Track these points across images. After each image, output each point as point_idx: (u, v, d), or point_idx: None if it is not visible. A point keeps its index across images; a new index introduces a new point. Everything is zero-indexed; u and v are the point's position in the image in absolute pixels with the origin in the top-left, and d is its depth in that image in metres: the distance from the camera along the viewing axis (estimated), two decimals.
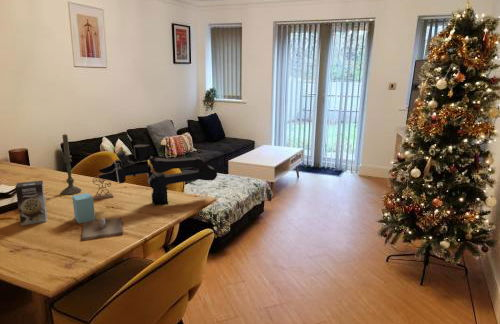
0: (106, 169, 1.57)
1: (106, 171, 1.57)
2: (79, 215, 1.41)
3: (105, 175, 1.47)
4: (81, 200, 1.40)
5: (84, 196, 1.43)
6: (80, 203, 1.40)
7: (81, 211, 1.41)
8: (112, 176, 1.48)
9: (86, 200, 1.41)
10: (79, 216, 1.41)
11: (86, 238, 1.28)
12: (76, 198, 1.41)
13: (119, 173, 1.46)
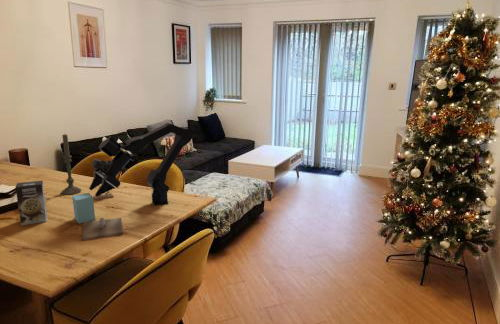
0: (94, 183, 1.50)
1: (96, 184, 1.50)
2: (79, 215, 1.41)
3: (100, 190, 1.41)
4: (81, 200, 1.40)
5: (84, 196, 1.43)
6: (80, 203, 1.40)
7: (81, 211, 1.41)
8: (106, 186, 1.42)
9: (86, 200, 1.41)
10: (79, 216, 1.41)
11: (86, 238, 1.28)
12: (76, 198, 1.41)
13: (110, 180, 1.39)
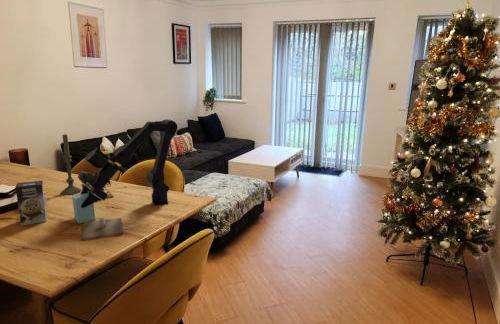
0: None
1: None
2: (79, 215, 1.41)
3: (85, 202, 1.40)
4: (81, 200, 1.40)
5: (84, 196, 1.43)
6: (80, 203, 1.40)
7: (81, 211, 1.41)
8: (92, 198, 1.41)
9: None
10: (79, 216, 1.41)
11: (86, 238, 1.28)
12: (76, 198, 1.41)
13: (96, 193, 1.37)
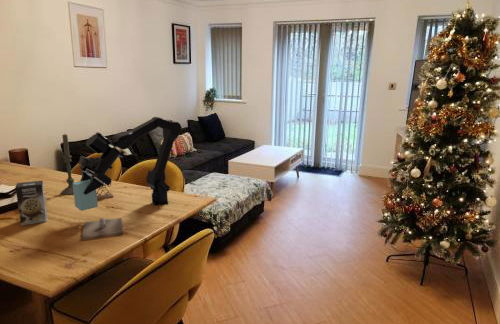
0: None
1: None
2: (82, 202, 1.36)
3: (89, 188, 1.36)
4: (83, 186, 1.35)
5: (86, 182, 1.39)
6: (83, 189, 1.35)
7: (84, 198, 1.36)
8: (95, 184, 1.37)
9: None
10: (82, 203, 1.36)
11: (86, 238, 1.28)
12: (78, 184, 1.36)
13: (101, 178, 1.33)
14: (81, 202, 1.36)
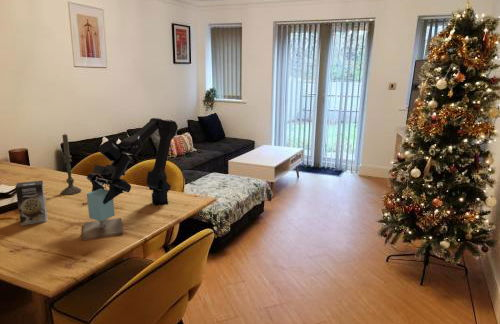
0: None
1: None
2: (101, 212, 1.31)
3: (108, 197, 1.31)
4: (102, 196, 1.30)
5: (102, 191, 1.33)
6: (102, 198, 1.30)
7: (103, 207, 1.31)
8: (113, 192, 1.33)
9: None
10: (101, 213, 1.31)
11: (86, 238, 1.28)
12: (96, 194, 1.30)
13: (123, 185, 1.31)
14: (101, 212, 1.30)
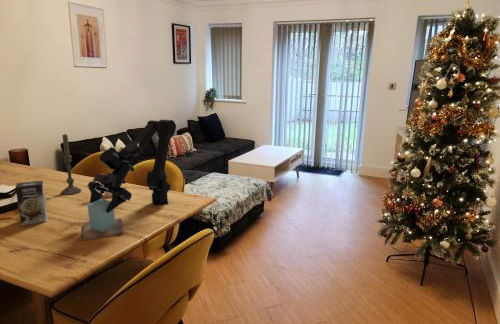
0: (93, 200, 1.36)
1: None
2: (102, 223, 1.32)
3: (111, 206, 1.31)
4: (103, 207, 1.31)
5: (102, 202, 1.34)
6: (103, 209, 1.31)
7: (104, 218, 1.32)
8: (116, 201, 1.33)
9: None
10: (102, 224, 1.32)
11: (86, 238, 1.28)
12: (96, 205, 1.31)
13: (124, 194, 1.31)
14: (102, 223, 1.31)
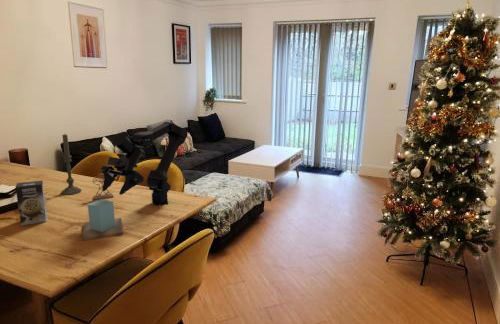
0: (107, 183, 1.41)
1: (108, 184, 1.42)
2: (102, 223, 1.32)
3: (124, 188, 1.36)
4: (103, 207, 1.31)
5: (102, 202, 1.34)
6: (103, 209, 1.31)
7: (104, 218, 1.32)
8: (129, 183, 1.38)
9: (108, 206, 1.33)
10: (102, 224, 1.32)
11: (86, 238, 1.28)
12: (96, 205, 1.31)
13: (136, 176, 1.36)
14: (102, 223, 1.31)
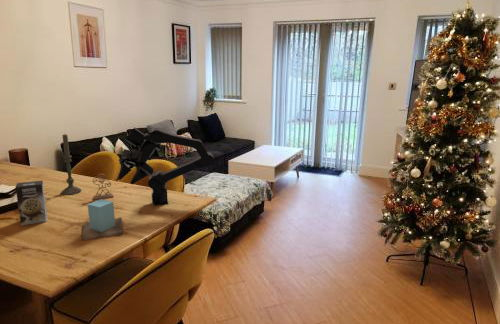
0: (122, 173, 1.55)
1: (123, 174, 1.55)
2: (102, 223, 1.32)
3: (135, 178, 1.48)
4: (103, 207, 1.31)
5: (102, 202, 1.34)
6: (103, 209, 1.31)
7: (104, 218, 1.32)
8: (140, 174, 1.50)
9: (108, 206, 1.33)
10: (102, 224, 1.32)
11: (86, 238, 1.28)
12: (96, 205, 1.31)
13: (146, 168, 1.47)
14: (102, 223, 1.31)
